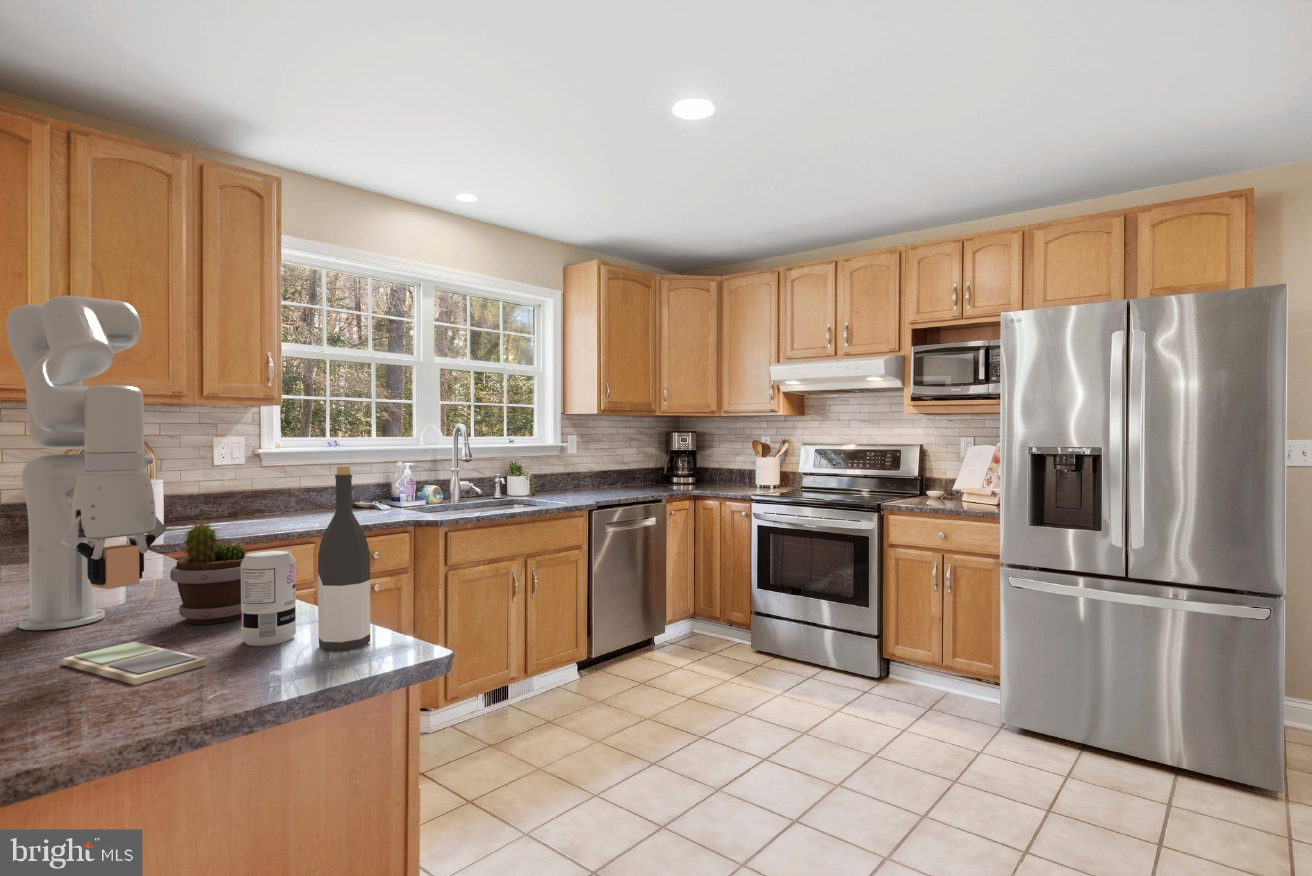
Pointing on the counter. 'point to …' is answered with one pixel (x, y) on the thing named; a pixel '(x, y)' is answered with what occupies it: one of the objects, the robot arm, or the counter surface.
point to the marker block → (120, 566)
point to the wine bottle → (343, 576)
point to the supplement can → (268, 597)
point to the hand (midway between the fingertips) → (116, 579)
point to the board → (134, 662)
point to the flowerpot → (209, 578)
